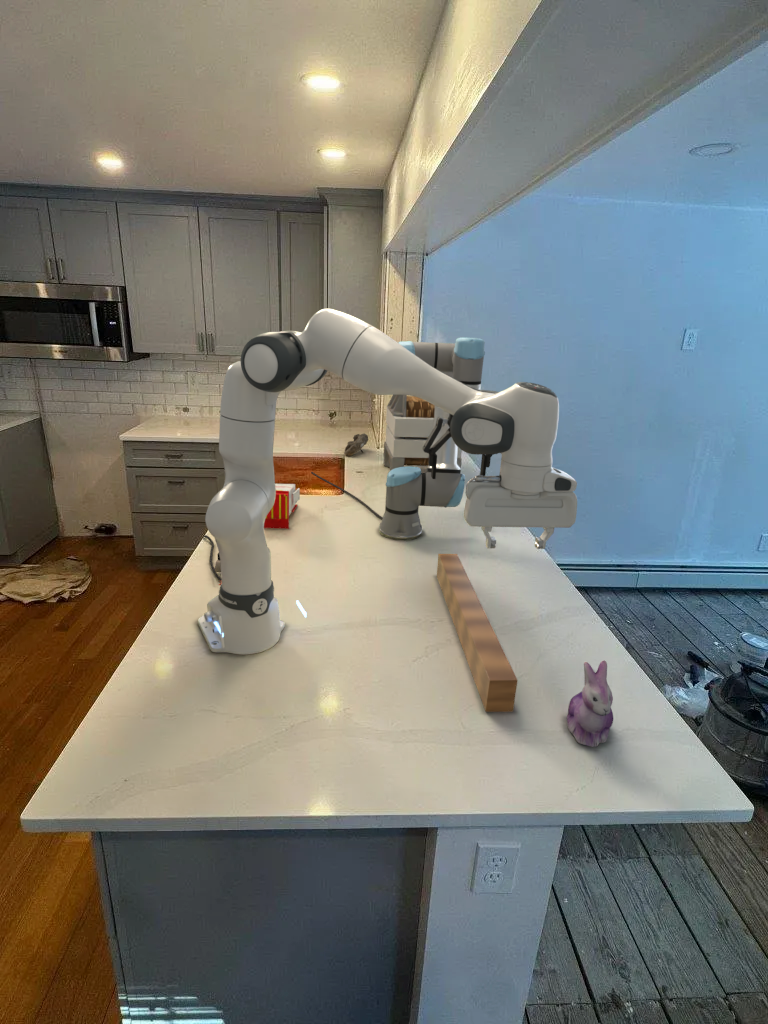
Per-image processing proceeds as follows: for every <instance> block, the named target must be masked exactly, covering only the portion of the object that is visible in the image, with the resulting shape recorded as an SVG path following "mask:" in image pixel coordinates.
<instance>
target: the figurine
mask: <svg viewBox="0 0 768 1024" xmlns="http://www.w3.org/2000/svg"><path fill="white" fill-rule="evenodd" d="M583 676H584V677H583V678H584V686H583V688H582V690H581V691H580V692H579V693H577V694H575V695H574V696H572V698H571V699H570V700H569V703H568V709H567V714H566V725H567V728H568V731H569V732H570V733H571V734H572V736H573V737H574V738H575V740H576V742H577V743H578V744H580V745H584V746H588V747H593V748H596V747H598V746H599V745H600V744H601V743H602V744H603V743H605V742H606V741H607V739H608V737H609V734H610V728H611V727H612V726H613V723H614V712H613V709H612V704H613V701H614V697H613V692H612V689H611V687H610V686H609V684H608V680H607V677H608V663H607V661H606V660H602V661H600V663H599V664H598V667H597V670H596V671H595V670H594V669H593V667H592V665H591V664H590V663H589V662H588V661H584V662H583Z"/></svg>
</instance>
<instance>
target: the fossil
mask: <svg viewBox="0 0 768 1024" xmlns="http://www.w3.org/2000/svg"><path fill="white" fill-rule="evenodd" d="M352 439H353V440H350V441H349V440H348V442H347V445H346V446H345V448H344V453H343V454H344V456H345V457H351V456H353V455H356V454H357V453H358V452H359V451H360V452H362V453H364V451H363V450H362V449H363V448H364V446H365V445H367V443H368V442H369V435H368V434H366V433H365V432H364V433H361V434H360V433H357V434H354V435H353V437H352Z"/></svg>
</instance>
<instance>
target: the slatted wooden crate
mask: <svg viewBox="0 0 768 1024" xmlns="http://www.w3.org/2000/svg"><path fill="white" fill-rule="evenodd" d="M434 411H435V405H433V404H431V403H429V402H427V401H426V400H423V399H421V398H418V397H415V396H410V395H391V398H390V400H389V402H388V404H387V405H386V413H385V414H386V415H385V423H386V428H385V438H384V442H383V466H384V467H388V468H389V472H390V471H391V470H393V469H395V468H399V467H405V466H413V467H428V466H429V464H428V460H429V454H428V453H425V452H424V451H423V449H422V448H423V446H424V444H425V442H426V441H427V439H428V437H429V436H430V434H431V432H432V430H433V429H434ZM432 446H433V444H432V445H431V447H432ZM431 447H430V448H431ZM462 453H463V451H462V450H461V449H460V448H459V447H458V450H457V465H458V466H459V467H460V468H461V469H462V461H463V460H462Z"/></svg>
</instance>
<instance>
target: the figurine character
mask: <svg viewBox="0 0 768 1024" xmlns="http://www.w3.org/2000/svg"><path fill="white" fill-rule="evenodd" d="M214 569H215V572H216V573H220V574H221V565H220V555H219V552H217V560H216V562H215V564H214Z"/></svg>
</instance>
